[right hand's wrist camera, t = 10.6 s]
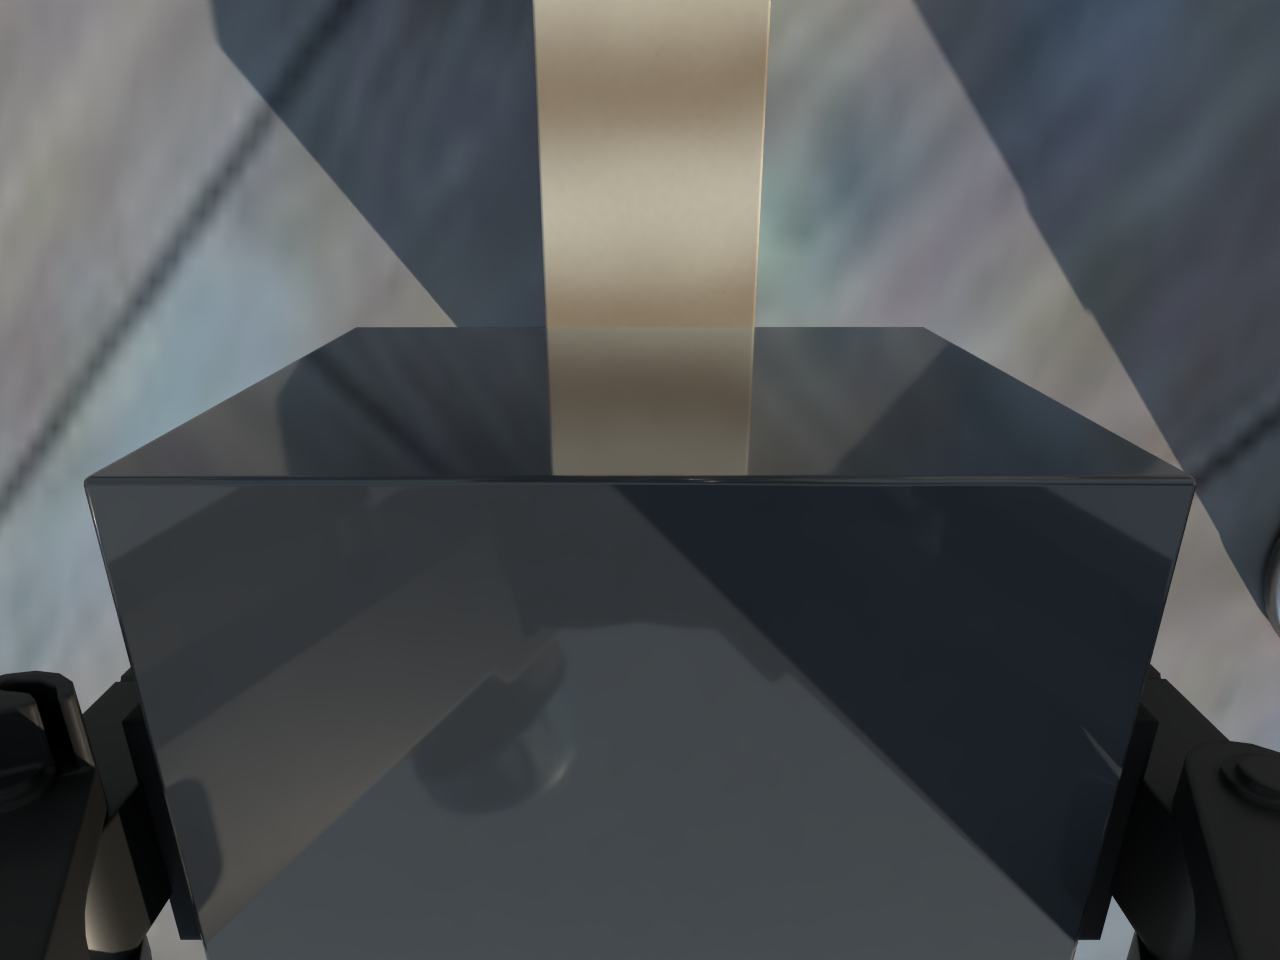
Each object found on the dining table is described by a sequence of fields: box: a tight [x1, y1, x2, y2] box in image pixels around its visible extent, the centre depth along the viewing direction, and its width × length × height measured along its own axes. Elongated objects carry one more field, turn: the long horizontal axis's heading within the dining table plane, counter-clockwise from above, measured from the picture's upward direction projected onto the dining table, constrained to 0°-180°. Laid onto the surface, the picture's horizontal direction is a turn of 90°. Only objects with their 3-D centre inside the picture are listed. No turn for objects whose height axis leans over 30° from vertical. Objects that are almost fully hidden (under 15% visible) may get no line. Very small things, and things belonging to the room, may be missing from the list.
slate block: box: [84, 327, 1196, 960], centre depth 10 cm, size 8×8×6 cm
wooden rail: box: [532, 0, 771, 327], centre depth 24 cm, size 24×6×5 cm, turn 0°
